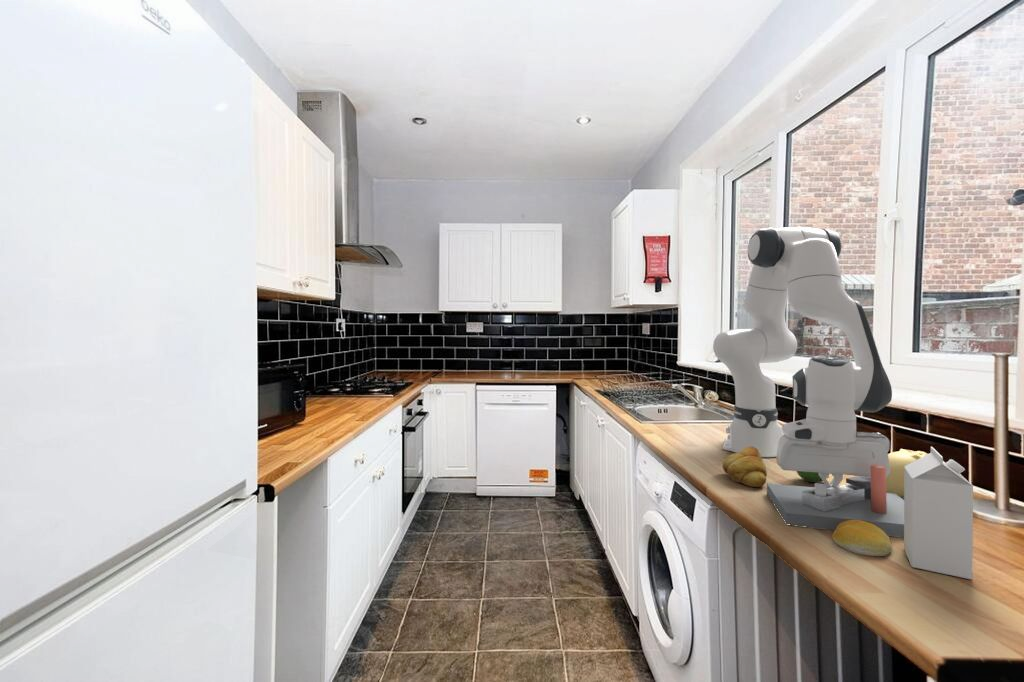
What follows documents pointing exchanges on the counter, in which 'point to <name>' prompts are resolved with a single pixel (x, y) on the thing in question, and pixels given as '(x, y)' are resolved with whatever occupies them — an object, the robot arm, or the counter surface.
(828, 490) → the link
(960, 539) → the milk carton
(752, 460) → the bread roll
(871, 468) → the peg
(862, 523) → the bread roll
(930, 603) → the counter surface
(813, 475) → the avocado
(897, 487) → the sculpture
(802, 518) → the board
